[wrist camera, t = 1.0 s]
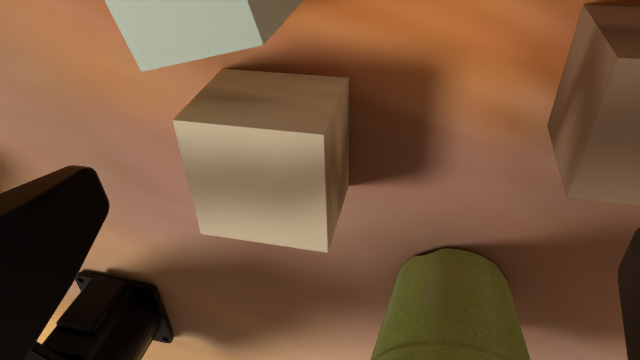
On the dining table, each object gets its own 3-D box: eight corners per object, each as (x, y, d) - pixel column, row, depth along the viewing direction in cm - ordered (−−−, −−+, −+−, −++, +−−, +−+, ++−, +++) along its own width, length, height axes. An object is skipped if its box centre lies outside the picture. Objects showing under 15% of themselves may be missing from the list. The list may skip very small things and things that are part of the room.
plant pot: (576, 252, 23) (620, 424, 17) (502, 353, 29) (513, 511, 23) (392, 202, 24) (365, 347, 18) (356, 310, 30) (326, 450, 24)
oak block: (348, 184, 24) (327, 252, 21) (240, 171, 26) (201, 233, 22) (349, 76, 21) (323, 135, 17) (223, 67, 22) (172, 120, 18)
